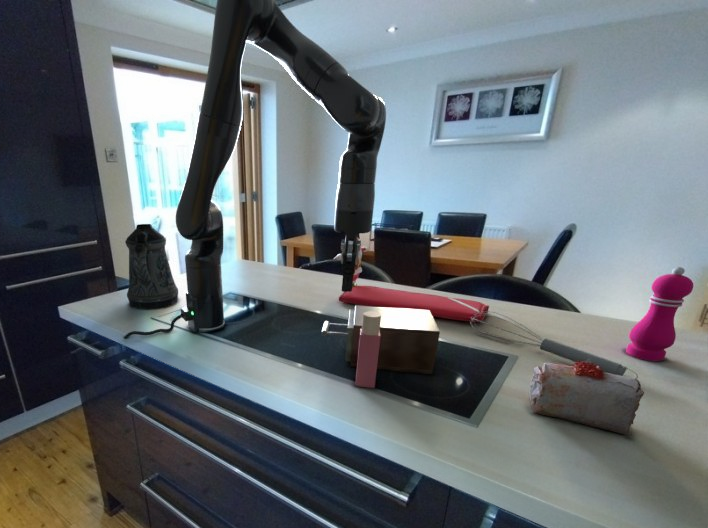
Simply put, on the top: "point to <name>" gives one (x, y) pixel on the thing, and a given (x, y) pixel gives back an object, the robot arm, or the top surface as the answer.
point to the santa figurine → (358, 265)
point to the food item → (586, 395)
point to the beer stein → (149, 270)
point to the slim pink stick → (368, 350)
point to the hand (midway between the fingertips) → (346, 290)
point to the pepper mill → (660, 317)
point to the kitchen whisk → (564, 350)
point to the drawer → (348, 334)
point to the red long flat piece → (416, 302)
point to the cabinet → (401, 339)
